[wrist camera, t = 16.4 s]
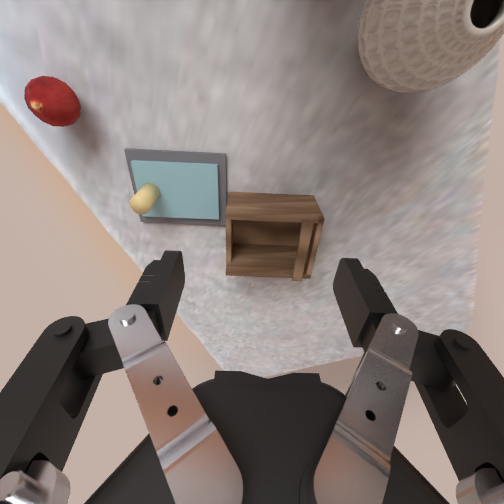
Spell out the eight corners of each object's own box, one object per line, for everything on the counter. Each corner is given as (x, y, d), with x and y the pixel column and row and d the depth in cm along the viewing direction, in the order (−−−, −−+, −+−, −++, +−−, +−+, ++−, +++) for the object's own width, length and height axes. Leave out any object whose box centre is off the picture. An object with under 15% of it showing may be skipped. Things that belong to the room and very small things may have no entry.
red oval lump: (56, 119, 39) (17, 130, 33) (41, 73, 36) (-6, 75, 29) (95, 122, 39) (65, 134, 33) (84, 77, 36) (47, 80, 30)
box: (229, 191, 46) (224, 217, 38) (313, 195, 46) (325, 221, 39) (229, 247, 53) (225, 278, 45) (302, 250, 53) (310, 281, 46)
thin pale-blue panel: (132, 160, 42) (115, 173, 37) (217, 164, 42) (213, 177, 37) (144, 214, 48) (131, 232, 43) (219, 217, 48) (215, 235, 43)
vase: (420, 91, 37) (517, 106, 23) (332, 84, 37) (378, 96, 23) (471, -41, 30) (656, -130, 16) (360, -53, 29) (454, -154, 15)
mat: (125, 148, 42) (124, 149, 41) (225, 153, 42) (225, 154, 42) (141, 220, 49) (140, 221, 49) (226, 223, 50) (226, 225, 49)
